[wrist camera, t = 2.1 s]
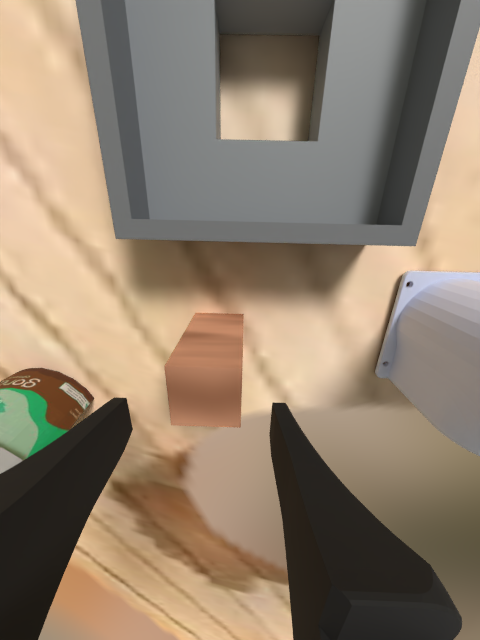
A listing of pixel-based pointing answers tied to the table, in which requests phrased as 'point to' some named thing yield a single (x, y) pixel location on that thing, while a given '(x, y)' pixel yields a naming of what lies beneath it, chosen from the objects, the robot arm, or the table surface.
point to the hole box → (264, 155)
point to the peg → (207, 372)
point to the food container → (36, 412)
